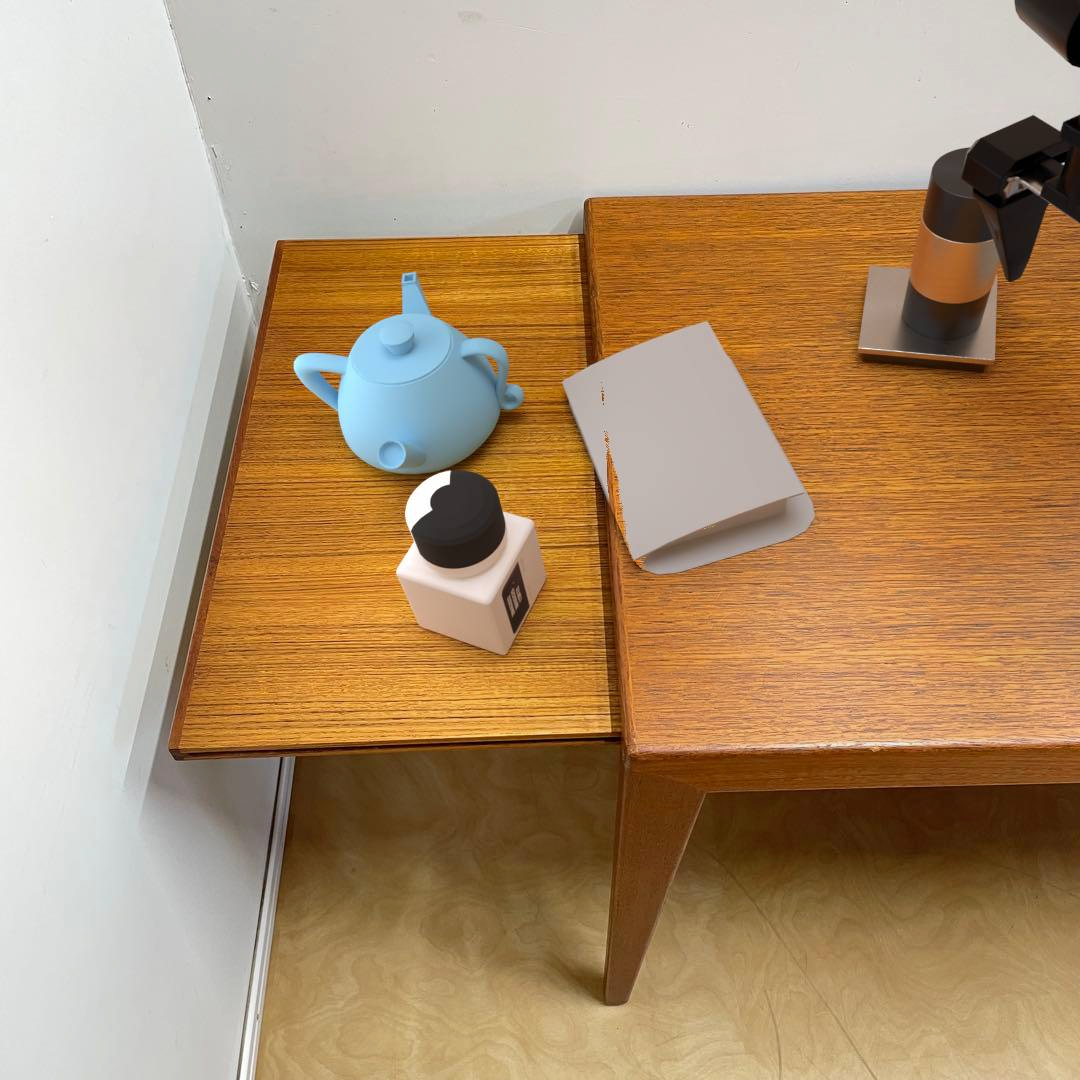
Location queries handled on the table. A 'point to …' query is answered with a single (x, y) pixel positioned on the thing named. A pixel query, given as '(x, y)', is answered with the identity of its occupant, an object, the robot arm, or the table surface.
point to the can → (950, 257)
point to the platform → (902, 345)
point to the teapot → (414, 389)
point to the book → (687, 452)
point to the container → (469, 561)
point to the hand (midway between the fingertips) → (1060, 314)
